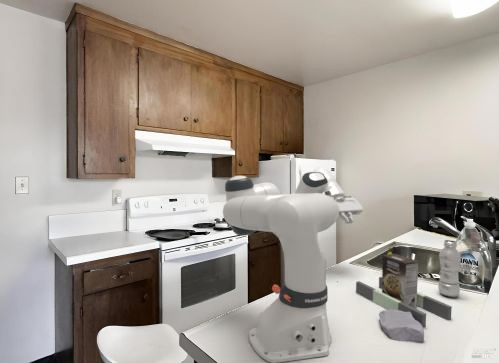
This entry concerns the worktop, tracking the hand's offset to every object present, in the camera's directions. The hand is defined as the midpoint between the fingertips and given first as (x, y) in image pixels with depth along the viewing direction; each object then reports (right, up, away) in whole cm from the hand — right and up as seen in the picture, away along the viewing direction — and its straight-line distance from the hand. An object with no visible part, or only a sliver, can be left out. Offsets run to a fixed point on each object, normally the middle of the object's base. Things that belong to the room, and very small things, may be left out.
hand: (350, 222), depth 117 cm
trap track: (+9, -25, -21) cm, 34 cm away
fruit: (+19, -24, +6) cm, 31 cm away
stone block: (+1, -26, -36) cm, 44 cm away
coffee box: (+9, -25, -21) cm, 34 cm away
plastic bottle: (+31, -25, -14) cm, 42 cm away
